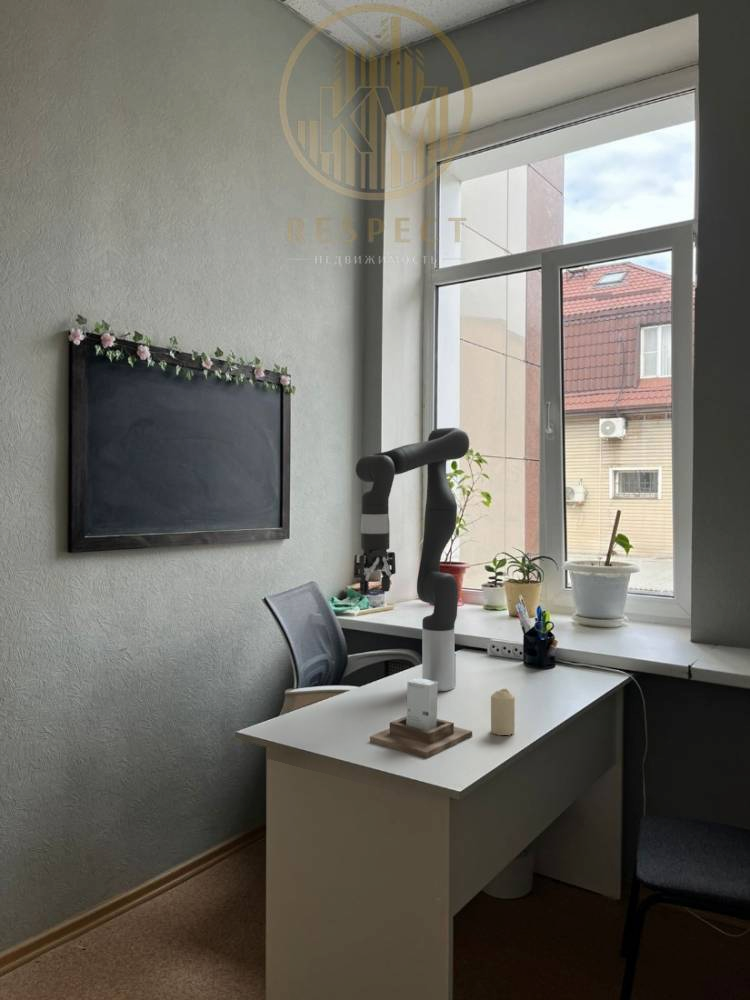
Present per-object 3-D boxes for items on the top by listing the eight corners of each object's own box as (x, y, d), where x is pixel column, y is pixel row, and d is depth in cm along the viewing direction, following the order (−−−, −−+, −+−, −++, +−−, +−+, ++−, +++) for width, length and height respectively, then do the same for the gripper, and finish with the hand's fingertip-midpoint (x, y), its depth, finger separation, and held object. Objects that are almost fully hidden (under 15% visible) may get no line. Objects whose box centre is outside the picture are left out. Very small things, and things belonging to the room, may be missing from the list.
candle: (498, 726, 178) (498, 685, 178) (518, 731, 174) (518, 689, 174) (486, 732, 174) (486, 690, 173) (507, 737, 170) (507, 694, 170)
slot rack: (417, 722, 181) (417, 707, 181) (472, 736, 171) (472, 720, 171) (369, 741, 168) (369, 725, 168) (426, 758, 157) (426, 740, 157)
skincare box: (405, 733, 170) (405, 681, 169) (415, 728, 173) (415, 676, 173) (428, 738, 166) (428, 685, 166) (438, 733, 170) (438, 680, 170)
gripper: (368, 533, 185) (368, 597, 186) (403, 530, 196) (403, 591, 197) (346, 532, 190) (346, 594, 190) (381, 529, 201) (381, 588, 201)
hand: (375, 592), depth 193 cm, fingers open, 8 cm apart
